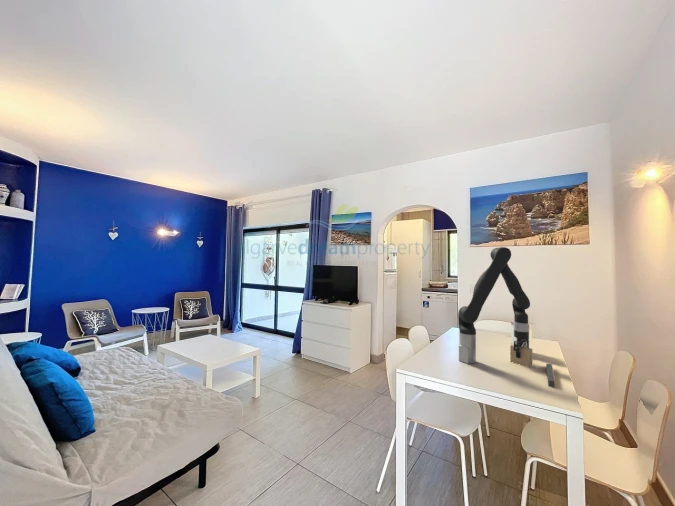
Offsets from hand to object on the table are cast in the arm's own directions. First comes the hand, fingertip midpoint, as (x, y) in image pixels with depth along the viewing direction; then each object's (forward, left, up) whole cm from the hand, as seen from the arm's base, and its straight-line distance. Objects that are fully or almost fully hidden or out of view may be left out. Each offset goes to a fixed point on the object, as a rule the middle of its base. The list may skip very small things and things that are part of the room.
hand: (521, 356), depth 167 cm
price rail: (-9, -17, -4) cm, 20 cm away
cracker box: (+22, +10, -5) cm, 25 cm away
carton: (0, 0, -4) cm, 4 cm away
